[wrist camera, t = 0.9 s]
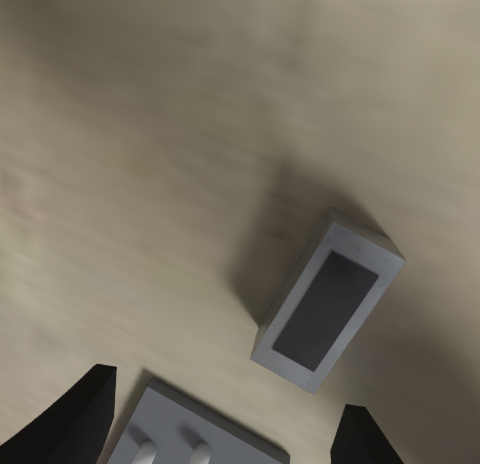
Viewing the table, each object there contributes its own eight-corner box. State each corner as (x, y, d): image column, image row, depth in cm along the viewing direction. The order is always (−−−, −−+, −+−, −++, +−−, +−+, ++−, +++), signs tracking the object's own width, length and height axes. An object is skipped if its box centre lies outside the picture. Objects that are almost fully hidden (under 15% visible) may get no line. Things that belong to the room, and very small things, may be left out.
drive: (391, 239, 23) (407, 261, 19) (313, 355, 26) (313, 396, 22) (330, 206, 24) (333, 222, 20) (259, 325, 26) (249, 360, 22)
